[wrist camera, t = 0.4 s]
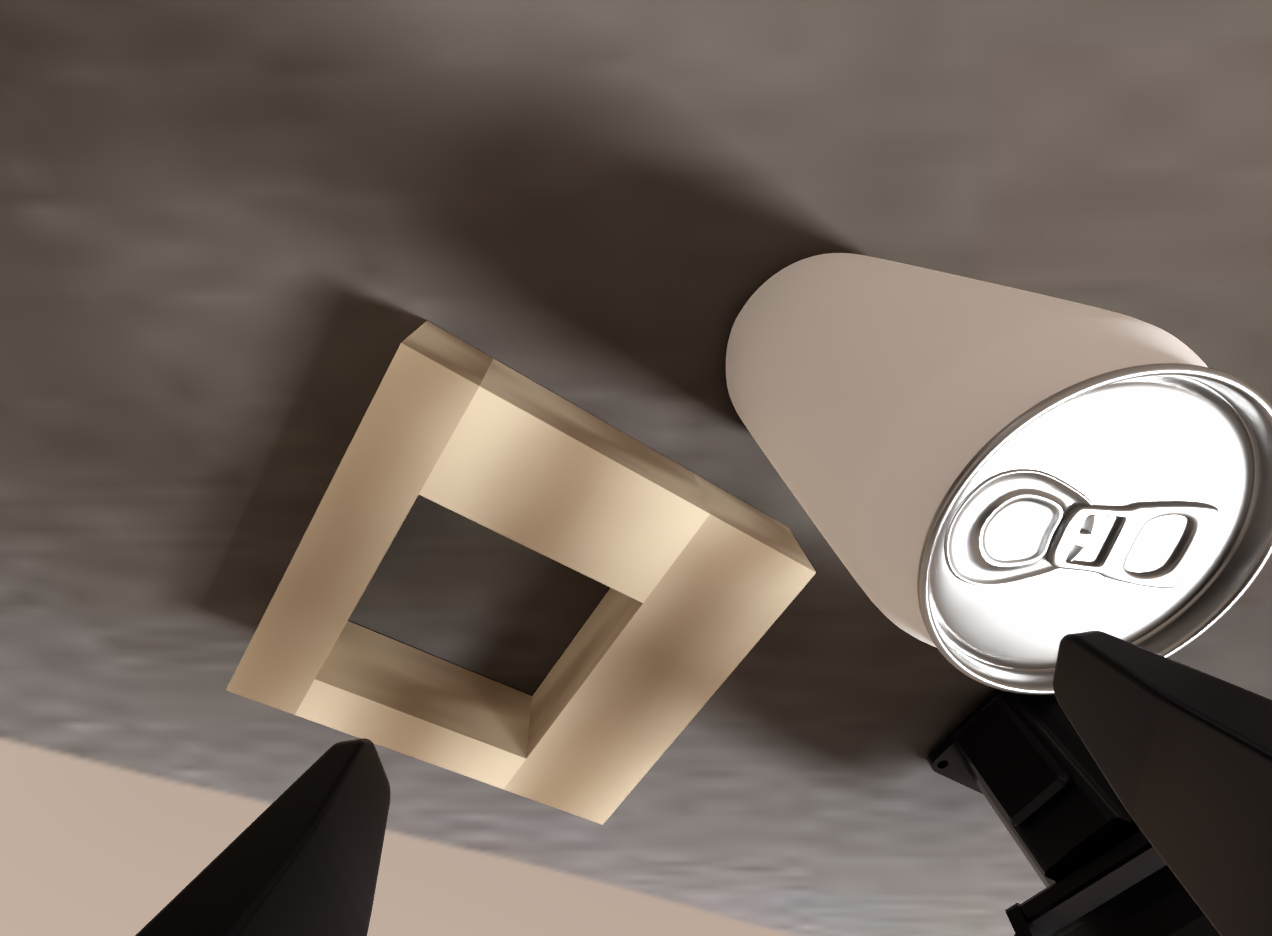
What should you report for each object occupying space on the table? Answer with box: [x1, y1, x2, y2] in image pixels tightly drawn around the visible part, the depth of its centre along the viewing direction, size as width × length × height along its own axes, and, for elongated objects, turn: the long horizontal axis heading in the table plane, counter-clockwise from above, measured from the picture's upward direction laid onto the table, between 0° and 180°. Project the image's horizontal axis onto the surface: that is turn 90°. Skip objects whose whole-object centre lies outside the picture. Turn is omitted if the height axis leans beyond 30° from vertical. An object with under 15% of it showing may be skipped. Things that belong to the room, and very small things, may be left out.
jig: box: [226, 321, 816, 825], centre depth 21 cm, size 14×13×3 cm
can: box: [726, 253, 1272, 695], centre depth 15 cm, size 6×6×12 cm
